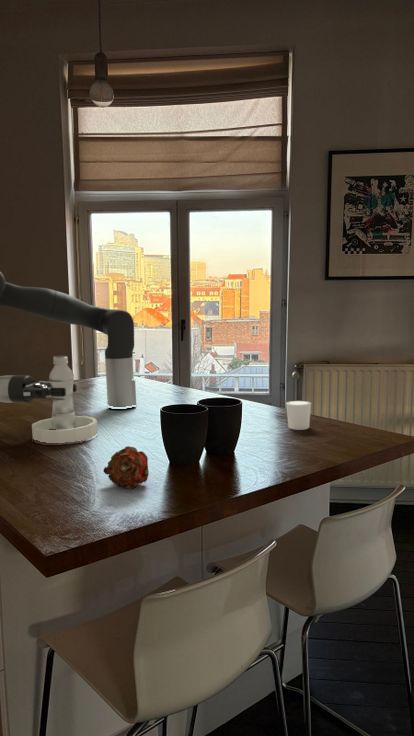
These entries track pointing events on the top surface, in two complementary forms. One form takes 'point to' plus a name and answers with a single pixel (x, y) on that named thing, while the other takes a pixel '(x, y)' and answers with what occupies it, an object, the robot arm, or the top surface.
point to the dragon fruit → (128, 468)
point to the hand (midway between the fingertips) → (70, 389)
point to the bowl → (65, 431)
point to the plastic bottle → (62, 404)
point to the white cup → (298, 414)
